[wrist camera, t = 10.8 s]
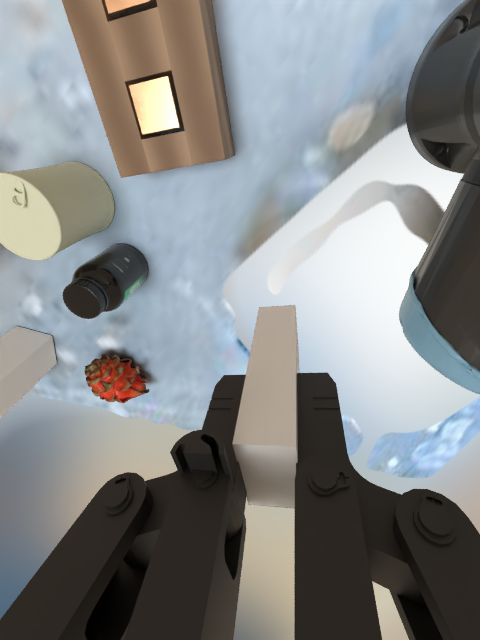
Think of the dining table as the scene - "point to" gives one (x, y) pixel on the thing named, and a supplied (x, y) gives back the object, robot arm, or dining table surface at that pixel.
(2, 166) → the dining table surface
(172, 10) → the socket block
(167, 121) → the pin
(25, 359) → the milk carton
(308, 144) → the dining table surface
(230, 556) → the robot arm
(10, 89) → the dining table surface
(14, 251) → the can
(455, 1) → the dining table surface
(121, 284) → the supplement bottle
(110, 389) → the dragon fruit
